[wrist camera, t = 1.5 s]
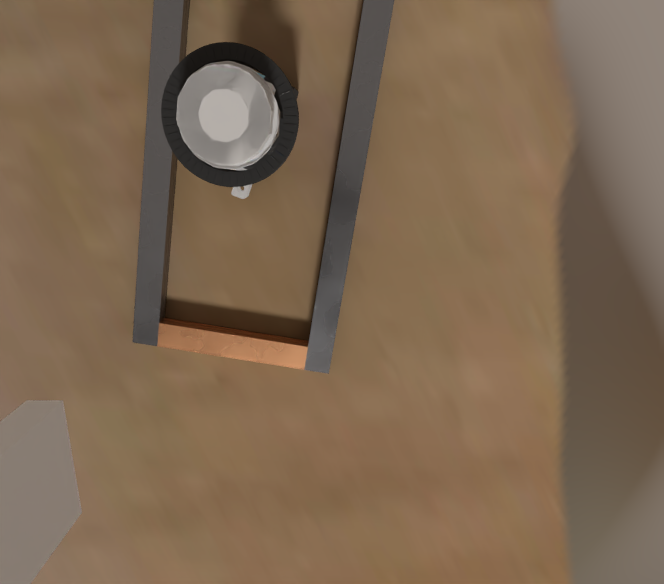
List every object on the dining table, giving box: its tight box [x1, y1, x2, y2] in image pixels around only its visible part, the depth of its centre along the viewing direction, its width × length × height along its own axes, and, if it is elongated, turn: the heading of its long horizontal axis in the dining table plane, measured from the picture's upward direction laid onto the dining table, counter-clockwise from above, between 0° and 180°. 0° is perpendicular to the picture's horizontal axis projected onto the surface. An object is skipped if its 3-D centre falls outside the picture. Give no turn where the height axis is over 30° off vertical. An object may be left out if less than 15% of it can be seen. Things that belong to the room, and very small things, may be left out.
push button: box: [161, 42, 299, 199], centre depth 24 cm, size 7×5×10 cm
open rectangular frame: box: [133, 0, 394, 374], centre depth 28 cm, size 12×28×1 cm, turn 171°
